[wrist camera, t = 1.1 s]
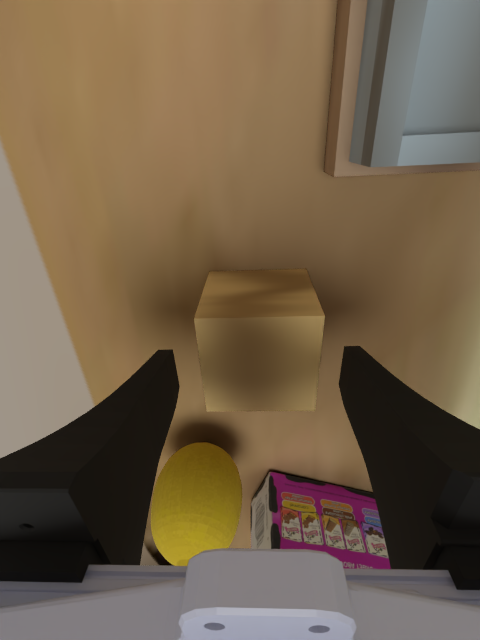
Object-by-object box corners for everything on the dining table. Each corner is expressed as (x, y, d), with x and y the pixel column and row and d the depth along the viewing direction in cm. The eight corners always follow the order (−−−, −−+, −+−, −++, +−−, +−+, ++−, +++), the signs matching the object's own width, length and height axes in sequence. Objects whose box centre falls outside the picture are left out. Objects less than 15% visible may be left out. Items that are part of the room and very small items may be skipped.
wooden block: (305, 267, 16) (324, 316, 12) (300, 347, 19) (314, 410, 14) (209, 270, 16) (193, 318, 12) (217, 348, 19) (206, 411, 15)
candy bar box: (248, 502, 27) (243, 909, 13) (268, 467, 24) (288, 924, 10) (367, 527, 28) (482, 921, 14) (397, 496, 26) (574, 938, 12)
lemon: (153, 435, 23) (110, 564, 16) (213, 406, 21) (194, 536, 14) (199, 475, 25) (179, 603, 18) (258, 451, 24) (260, 583, 17)
